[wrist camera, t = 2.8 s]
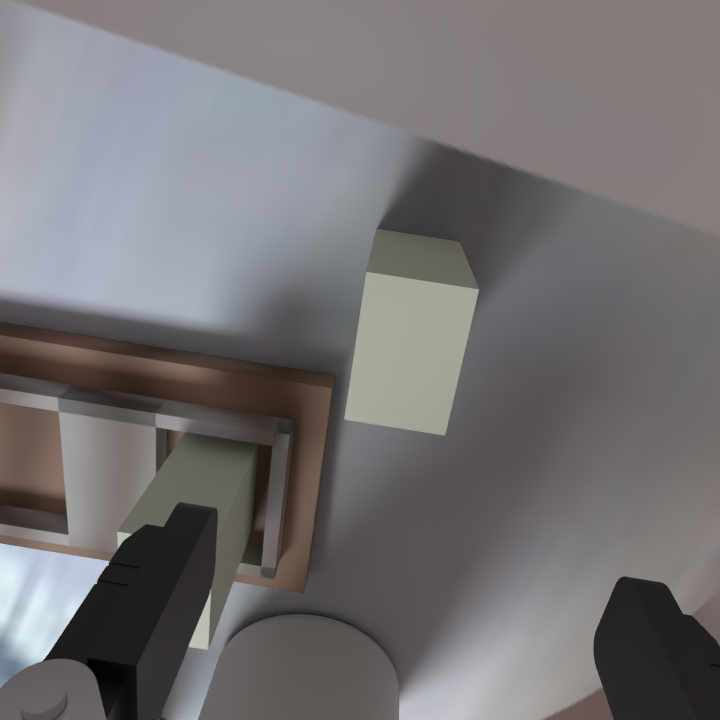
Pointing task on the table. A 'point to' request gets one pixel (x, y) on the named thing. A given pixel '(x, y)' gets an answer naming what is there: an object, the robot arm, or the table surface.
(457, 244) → the loose block
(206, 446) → the block
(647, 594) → the robot arm
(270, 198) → the table surface
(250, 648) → the cylinder vase
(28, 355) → the tray
